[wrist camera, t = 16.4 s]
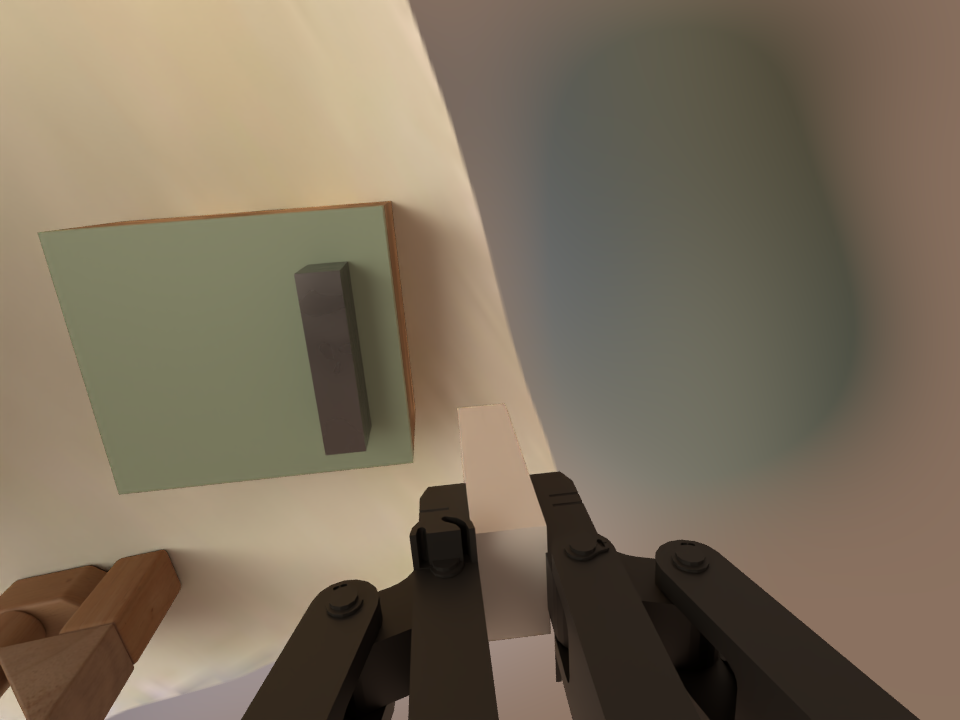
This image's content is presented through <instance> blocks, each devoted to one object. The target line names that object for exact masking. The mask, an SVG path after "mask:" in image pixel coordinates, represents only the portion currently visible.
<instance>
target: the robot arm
mask: <svg viewBox="0 0 960 720" xmlns="http://www.w3.org/2000/svg"><path fill="white" fill-rule="evenodd" d="M457 411H458V422H459V433H460V444H461V455H462V466H463V477H464V483H461V484H452V485H443V486H433V487H428V488H427V489H426V491H425V492H424V493H423V495H422V496H421V498H420V509H419V511H420V513H419V522H418V523H417V524H416V525H415V526H414V527H413V528H412V530H411V533H410V535H409V536H410V543H411V551H412V559H413V567H414V571H413V572H412V573H411V574H410V575H409V576H408V577H407V578H406V579H405V580H403V581H402V582H400V583H399V584H396V585H394V586H392V587H390V588H387V589H384V590H381V591H379V592H377V589H376V587H374V586H373V585H372V584H370V583H369V582H366V581H361V580H347V581H342V582H339V583H336V584H333V585H331V586H329V587H328V588H326V589H324V590H323V591H321V592H320V593H319V594H318V595H317V596H316V597H315V599H314V600H313V601H312V602H311V604H310V606H309V607H308V609H307V611H306V612H305V614H304V616H303V617H302V619H301V621H300V622H299V624H298V626H297V627H296V629H295V631H294V632H293V634H292V636H291V637H290V639H289V641H288V642H287V644H286V646H285V647H284V649H283V651H282V652H281V654H280V656H279V657H278V659H277V661H276V662H275V664H274V666H273V667H272V669H271V671H270V673H269V675H268V676H267V677H266V679H265V681H264V682H263V684H262V686H261V687H260V689H259V691H258V693H257V694H256V696H255V698H254V699H253V701H252V702H251V704H250V706H249V707H248V709H247V711H246V712H245V714H244V716H243V717H242V719H241V720H391V718H392V715H393V712H394V706H395V701H397V700H399V699H401V698H404V697H406V696H408V695H409V716H408V718H409V719H408V720H499V718H498V710H497V703H496V695H495V687H494V680H493V672H492V665H491V658H490V650H489V642H488V641H496V640H504V639H511V638H520V637H528V636H536V635H544V634H550V633H551V627H550V618H551V622H552V626H553V629H554V633H555V659H556V682H560V681H563V684H564V688H565V692H566V696H567V700H568V704H569V707H570V711H571V715H572V719H573V720H920V719H918V718H917V717H916V716H915V715H914V714H912V713H911V712H910V711H909V710H908V709H906V708H905V707H904V706H903V705H902V704H900V703H899V702H898V701H897V700H896V699H894V698H893V697H892V696H891V695H889V694H888V693H887V692H886V691H884V690H883V689H882V688H881V687H880V686H879V685H877V684H876V683H875V682H874V681H873V680H871V679H870V678H869V677H868V676H866V675H865V674H864V673H863V672H862V671H861V670H859V669H858V668H857V667H856V666H855V665H853V664H852V663H851V662H850V661H848V660H847V659H846V658H845V657H843V656H842V655H841V654H840V653H839V652H838V651H836V650H835V649H834V648H833V647H832V646H830V645H829V644H828V643H827V642H826V641H824V640H823V639H822V638H821V637H820V636H818V635H817V634H816V633H815V632H814V631H812V630H811V629H810V628H809V627H808V626H806V625H805V624H804V623H803V622H802V621H800V620H799V619H798V618H797V617H796V616H794V615H793V614H792V613H791V612H789V611H788V610H787V609H786V608H785V607H783V606H782V605H781V604H780V603H779V602H777V601H776V600H775V599H774V598H773V597H771V596H770V595H769V594H768V593H767V592H765V591H764V590H763V589H762V588H761V587H759V586H758V585H757V584H756V583H754V582H753V581H752V580H751V579H750V578H748V577H747V576H746V575H745V574H744V573H742V572H741V571H740V570H739V569H738V568H736V567H735V566H734V565H733V564H732V563H730V562H729V561H728V560H727V559H726V558H724V557H723V556H722V555H721V554H720V553H718V552H717V551H715V550H714V549H712V548H711V547H709V546H707V545H705V544H702V543H698V542H695V541H688V540H676V541H670V542H667V543H665V544H663V545H661V546H660V547H659V549H658V550H657V551H656V555H655V559H652V558H642V557H635V556H629V555H625V554H622V553H619V552H617V551H616V549H615V547H614V546H613V545H612V543H611V542H610V541H609V540H608V539H607V538H605V537H603V536H601V535H599V534H598V533H597V532H596V529H595V527H594V525H593V523H592V521H591V519H590V517H589V515H588V512H587V510H586V508H585V506H584V504H583V503H582V500H581V498H580V496H579V494H578V492H577V490H576V487H575V485H574V483H573V481H572V480H571V479H569V478H568V477H566V476H565V475H564V474H563V473H561V472H551V473H541V474H532V475H529V473H528V470H527V467H526V464H525V461H524V458H523V455H522V452H521V449H520V446H519V443H518V440H517V438H516V435H515V432H514V429H513V426H512V423H511V420H510V417H509V414H508V411H507V408H506V405H505V403H502V404H492V405H482V406H472V407H462V408H457Z"/></svg>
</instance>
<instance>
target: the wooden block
mask: <svg viewBox="0 0 960 720" xmlns="http://www.w3.org/2000/svg"><path fill="white" fill-rule="evenodd" d="M180 589H181V584H180V581H179V579H178V577H177V574H176V572H175V570H174V567H173V565H172V563H171V560H170V558H169V556H168V553H167V552H166V551H165V550H159V551H154V552H149V553H145V554H140V555H135V556H130V557H125V558H121V559H119V560H118V561H116V563H115V564H114V565H113V566H112V568H111V569H110V570H109V571H108V572H105V571H103V570H101V569H98V568H96V567H94V566H84V567H79V568H74V569H69V570H65V571H60V572H55V573H50V574H45V575H40V576H36V577H31V578H26V579H21V580H18V581H16V582H14V583H13V584H12V585H11V586H10V587H9V588H8V589H7V590H6V591H5V592H4V593H3V594H2V595H1V596H0V698H1V696H2V695H3V694H4V693H5V691H6V690H7V689H8V688H9V687H10V686H11V688H12V690H13V692H14V694H15V696H16V699H17V701H18V703H19V705H20V707H21V709H22V711H23V713H24V715H25V718H26V720H104V719H105V717H106V715H107V714H108V712H109V710H110V709H111V707H112V705H113V704H114V702H115V700H116V699H117V697H118V695H119V694H120V692H121V690H122V688H123V687H124V685H125V683H126V682H127V680H128V678H129V677H130V675H131V673H132V672H133V670H134V666H133V665H134V664H135V663H136V662H137V661H138V660H139V658H140V656H141V655H142V653H143V651H144V650H145V648H146V646H147V645H148V643H149V641H150V640H151V638H152V636H153V635H154V633H155V631H156V630H157V628H158V626H159V625H160V623H161V621H162V619H163V618H164V616H165V614H166V613H167V611H168V609H169V608H170V606H171V604H172V603H173V601H174V599H175V598H176V596H177V594H178V593H179V591H180Z"/></svg>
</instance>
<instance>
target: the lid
mask: <svg viewBox="0 0 960 720" xmlns="http://www.w3.org/2000/svg"><path fill="white" fill-rule="evenodd" d="M38 235H39V239H40V242H41V245H42V248H43V251H44V255H45V258H46V261H47V264H48V267H49V271H50V274H51V277H52V280H53V284H54V287H55V290H56V293H57V296H58V300H59V303H60V306H61V309H62V312H63V316H64V319H65V322H66V325H67V329H68V332H69V335H70V338H71V341H72V345H73V348H74V351H75V354H76V358H77V361H78V364H79V367H80V370H81V374H82V377H83V380H84V383H85V386H86V390H87V393H88V396H89V399H90V403H91V406H92V409H93V412H94V415H95V419H96V422H97V425H98V428H99V431H100V435H101V438H102V441H103V444H104V448H105V451H106V454H107V457H108V460H109V464H110V467H111V470H112V473H113V476H114V480H115V483H116V486H117V489H118V493H119V495H120V494H129V493H139V492H148V491H157V490H166V489H175V488H185V487H194V486H203V485H212V484H222V483H231V482H240V481H249V480H259V479H268V478H277V477H286V476H295V475H305V474H314V473H323V472H332V471H342V470H351V469H360V468H369V467H378V466H388V465H397V464H406V463H413V457H414V451H413V443H412V435H411V426H410V418H409V410H408V401H407V393H406V385H405V376H404V368H403V360H402V351H401V343H400V335H399V326H398V318H397V310H396V301H395V293H394V285H393V276H392V268H391V260H390V251H389V243H388V235H387V226H386V218H385V210H384V205H379V206H366V207H353V208H340V209H327V210H314V211H301V212H288V213H275V214H262V215H249V216H236V217H223V218H210V219H197V220H184V221H171V222H158V223H145V224H132V225H119V226H106V227H93V228H80V229H67V230H54V231H47V232H39V233H38Z"/></svg>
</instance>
